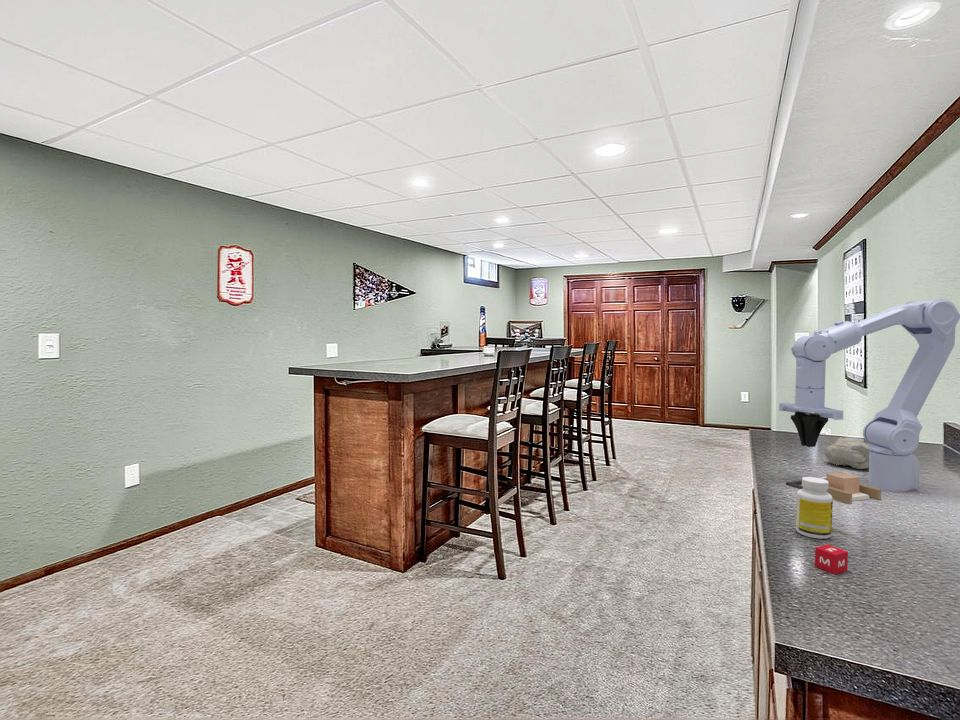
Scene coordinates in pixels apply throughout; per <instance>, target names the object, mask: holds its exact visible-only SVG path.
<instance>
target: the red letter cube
mask: <svg viewBox="0 0 960 720" xmlns="http://www.w3.org/2000/svg"><path fill="white" fill-rule="evenodd" d="M814 549H815V550H814V552H815V553H814V567H816V568H818V569H821V570H823V571H825V572H828V573H830V574H832V575H838V574H841V573H845V572H848V567H849V566H848V563H849V558H848V557H849V552H848V551H847V550H844V549H841V548H838V547H836V546H833V545H830V544H824V545H820V546H816V547H815V548H814Z"/></svg>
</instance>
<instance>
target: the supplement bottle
mask: <svg viewBox="0 0 960 720" xmlns="http://www.w3.org/2000/svg"><path fill="white" fill-rule="evenodd" d="M801 481H802V484H801V486H802V487H803V489H798V491H797V492H796V505H795V506H796V507H795V509H796V510H795V531H796V532H797V533H798V534H800V535H803V536H805V537H807V538H812V539H818V540H819V539H822V540H823V539H826V540H827V539H830V538H831V537H832V534H833V532H832V531H833V529H832V527H833V501H834V500H833V498H832V496H831V495H830V494H829V493H827V490H828V488H829V482H828V481H827V480H824V479H821V478H819V477H813V476H804V477H802V478H801Z"/></svg>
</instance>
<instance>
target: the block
mask: <svg viewBox="0 0 960 720" xmlns="http://www.w3.org/2000/svg"><path fill="white" fill-rule="evenodd" d="M826 477H827V478H826V480H827V481H828V482H829V487H832V488H836V489H839V490H843V491H846V492H849V493H852V494H856V493H859V484H861V481H860V478H861V477H860V476H857V475H853V474H850V473H846V472H842V471H841V472H832V473H826Z"/></svg>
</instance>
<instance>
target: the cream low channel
mask: <svg viewBox="0 0 960 720" xmlns="http://www.w3.org/2000/svg"><path fill="white" fill-rule="evenodd" d="M818 478H821V479H824V480H826V478H827V476H821V477H818ZM869 499H870V498H869V495H867V494H864V493H860V492H859V493H856V494H852V502H857V501H863V500H869Z"/></svg>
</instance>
